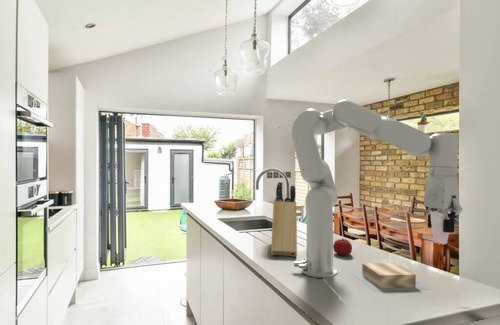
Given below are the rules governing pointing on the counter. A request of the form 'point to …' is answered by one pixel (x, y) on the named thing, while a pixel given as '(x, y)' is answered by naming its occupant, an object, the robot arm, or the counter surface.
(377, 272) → the oak riser
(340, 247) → the tomato
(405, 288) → the base board
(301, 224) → the counter surface
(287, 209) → the knife block
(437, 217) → the smoothie
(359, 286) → the counter surface
